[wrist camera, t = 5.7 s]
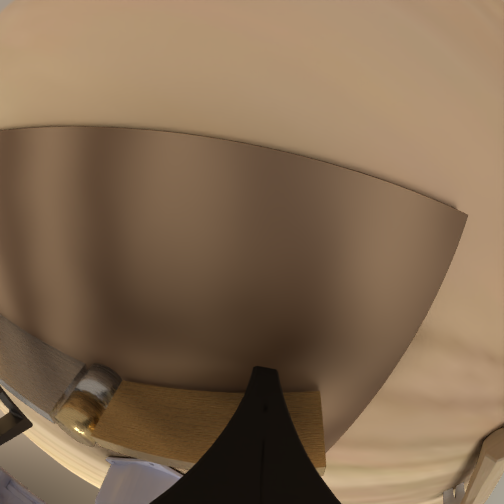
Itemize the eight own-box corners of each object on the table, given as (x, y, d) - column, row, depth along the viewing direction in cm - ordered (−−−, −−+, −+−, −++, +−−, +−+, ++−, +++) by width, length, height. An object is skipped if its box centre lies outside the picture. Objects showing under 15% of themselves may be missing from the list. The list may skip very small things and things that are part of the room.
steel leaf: (-2, 325, 14) (-33, 355, 10) (-10, 300, 13) (-46, 329, 9) (127, 397, 13) (99, 452, 9) (123, 372, 12) (87, 432, 8)
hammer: (507, 500, 6) (451, 557, 9) (542, 473, 5) (476, 545, 7) (461, 411, 21) (439, 501, 24) (490, 395, 20) (460, 491, 23)
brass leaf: (98, 391, 13) (70, 438, 10) (81, 363, 12) (46, 411, 9) (317, 411, 12) (321, 480, 8) (321, 381, 11) (328, 460, 7)
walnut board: (8, 357, 17) (4, 362, 16) (-32, 134, 9) (-40, 136, 8) (304, 465, 16) (304, 473, 15) (457, 209, 8) (468, 215, 8)
